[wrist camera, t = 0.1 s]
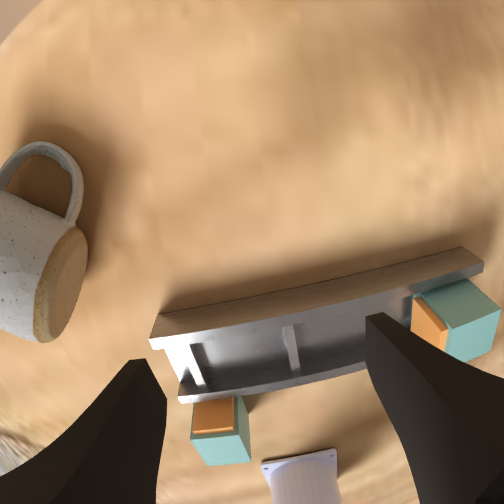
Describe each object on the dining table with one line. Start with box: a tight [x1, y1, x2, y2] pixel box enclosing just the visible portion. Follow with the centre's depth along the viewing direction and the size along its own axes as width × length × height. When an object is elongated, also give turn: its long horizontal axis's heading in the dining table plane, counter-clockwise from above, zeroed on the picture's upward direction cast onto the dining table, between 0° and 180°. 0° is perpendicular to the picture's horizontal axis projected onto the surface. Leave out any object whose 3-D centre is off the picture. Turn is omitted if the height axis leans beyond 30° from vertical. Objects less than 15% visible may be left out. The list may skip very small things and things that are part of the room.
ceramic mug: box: [0, 141, 88, 343], centre depth 14 cm, size 11×8×8 cm
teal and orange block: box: [190, 396, 251, 466], centre depth 22 cm, size 3×4×5 cm
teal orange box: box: [410, 278, 501, 363], centre depth 18 cm, size 3×4×5 cm
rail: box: [149, 247, 484, 404], centre depth 20 cm, size 6×22×3 cm, turn 102°
